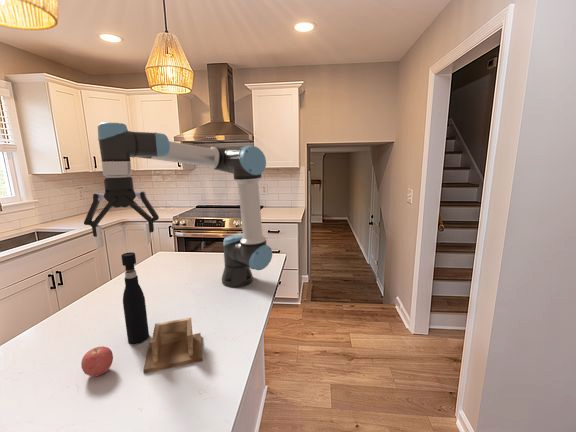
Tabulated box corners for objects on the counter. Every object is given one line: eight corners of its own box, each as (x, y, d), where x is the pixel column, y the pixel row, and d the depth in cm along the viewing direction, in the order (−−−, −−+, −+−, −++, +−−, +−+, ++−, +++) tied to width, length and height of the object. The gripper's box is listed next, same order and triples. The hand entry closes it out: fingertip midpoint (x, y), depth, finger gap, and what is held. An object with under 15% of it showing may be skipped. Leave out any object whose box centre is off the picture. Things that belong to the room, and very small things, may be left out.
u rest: (200, 336, 99) (199, 314, 97) (202, 360, 87) (200, 336, 85) (149, 345, 94) (146, 323, 92) (143, 373, 82) (140, 347, 80)
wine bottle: (140, 345, 94) (129, 258, 88) (123, 343, 95) (111, 256, 90) (153, 334, 100) (143, 251, 94) (137, 332, 102) (126, 250, 96)
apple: (110, 379, 80) (106, 353, 78) (79, 385, 78) (75, 359, 76) (117, 361, 87) (114, 337, 85) (89, 366, 85) (85, 342, 83)
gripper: (163, 175, 94) (169, 237, 99) (73, 176, 87) (83, 244, 91) (161, 176, 88) (167, 243, 92) (63, 178, 80) (75, 251, 84)
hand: (126, 244), depth 91 cm, fingers open, 13 cm apart
